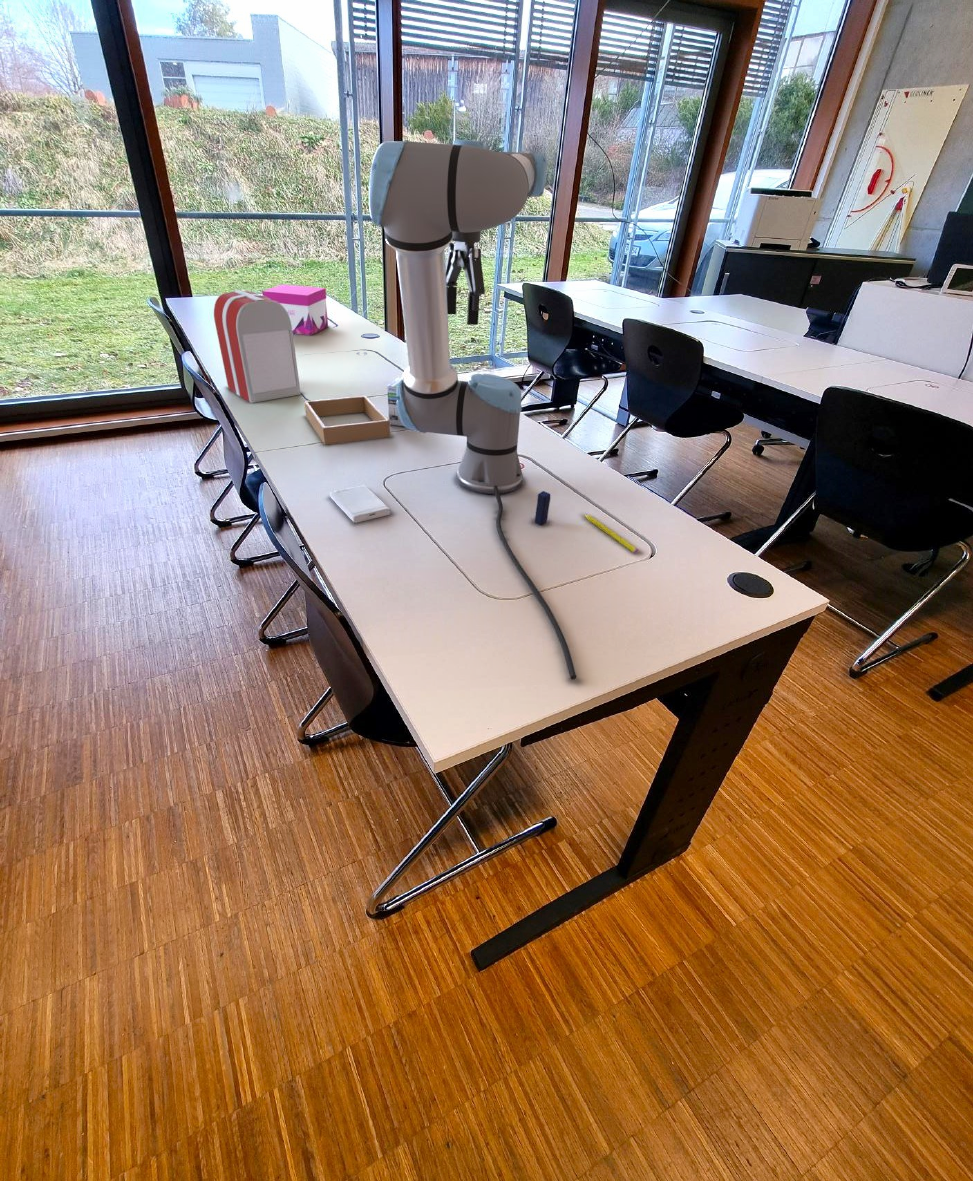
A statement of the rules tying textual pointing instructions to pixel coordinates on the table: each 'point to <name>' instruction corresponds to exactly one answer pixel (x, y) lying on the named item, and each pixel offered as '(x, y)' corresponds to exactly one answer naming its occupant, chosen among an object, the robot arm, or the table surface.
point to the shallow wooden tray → (347, 431)
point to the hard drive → (359, 503)
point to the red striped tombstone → (256, 346)
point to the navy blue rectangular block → (542, 508)
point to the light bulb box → (393, 403)
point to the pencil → (612, 534)
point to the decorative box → (302, 306)
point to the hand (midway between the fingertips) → (461, 319)
